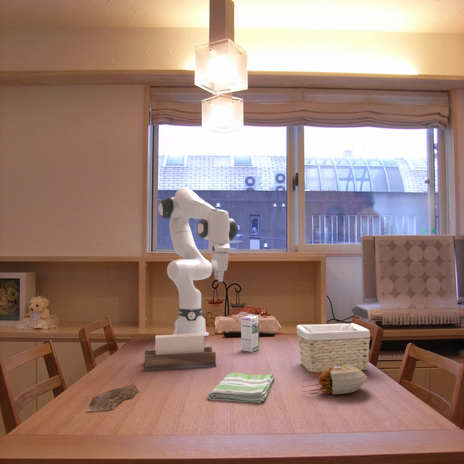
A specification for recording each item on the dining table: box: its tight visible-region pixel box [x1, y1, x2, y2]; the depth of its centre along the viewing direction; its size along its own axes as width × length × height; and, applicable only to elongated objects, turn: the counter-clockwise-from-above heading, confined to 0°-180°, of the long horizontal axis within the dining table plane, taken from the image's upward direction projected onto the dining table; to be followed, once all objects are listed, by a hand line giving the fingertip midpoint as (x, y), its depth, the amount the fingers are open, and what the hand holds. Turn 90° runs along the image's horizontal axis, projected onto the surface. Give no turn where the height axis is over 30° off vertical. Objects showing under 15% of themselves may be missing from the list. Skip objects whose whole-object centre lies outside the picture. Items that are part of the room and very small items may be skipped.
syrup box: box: [240, 315, 260, 353], centre depth 187 cm, size 6×6×14 cm
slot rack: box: [144, 346, 217, 372], centre depth 164 cm, size 12×26×5 cm, turn 102°
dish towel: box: [207, 372, 275, 404], centre depth 135 cm, size 17×23×4 cm
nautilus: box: [301, 365, 368, 396], centre depth 132 cm, size 8×22×15 cm
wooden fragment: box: [85, 383, 140, 414], centre depth 128 cm, size 26×11×1 cm, turn 162°
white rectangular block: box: [154, 333, 205, 355], centre depth 164 cm, size 5×18×10 cm, turn 103°
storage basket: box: [296, 322, 371, 374], centre depth 160 cm, size 24×16×15 cm
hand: (218, 280), depth 181 cm, fingers open, 8 cm apart
